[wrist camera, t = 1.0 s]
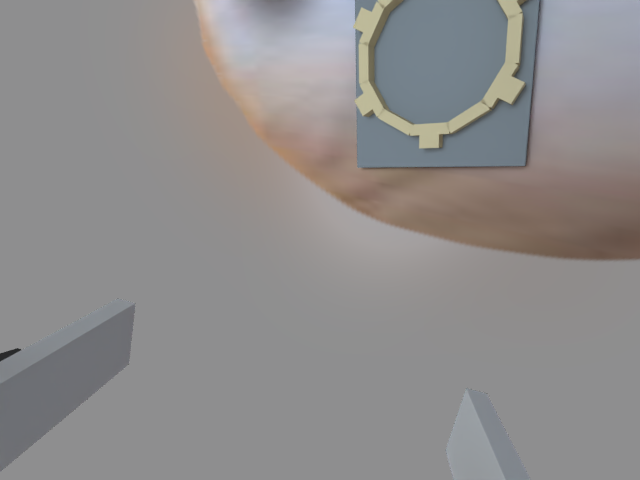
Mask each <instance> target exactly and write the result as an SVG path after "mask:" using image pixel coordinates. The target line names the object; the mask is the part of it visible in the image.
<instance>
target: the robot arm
mask: <svg viewBox="0 0 640 480" xmlns="http://www.w3.org/2000/svg"><path fill="white" fill-rule="evenodd" d="M134 313H135V303H133V302H129V301H125V300H121V299H116V300H114V301H112V302H110V303H108V304H107V305H105V306H103V307H101V308H99V309H98V310H95V311H94V312H92V313H90V314H88V315H86V316H84V317H83V318H80V319H79V320H77V321H75V322H73V323H71V324H70V325H67V326H66V327H64V328H62V329H60V330H58V331H56V332H54V333H53V334H51V335H49V336H47V337H45V338H43V339H42V340H39V341H38V342H36V343H34V344H32V345H30V346H28V347H26V348H25V349H23V350H21V349H18V348H17V349H14V350H10V351H7V352H4V353H1V354H0V472H1V471H2V470H3V469H4V468H6V467H7V466H8V465H9V464H10V463H12V461H14V460H15V459H16V458H18V457H19V456H20V455H21V454H22V453H23V452H25V451H26V450H27V449H28V448H29V447H31V446H32V445H33V444H34V443H35V442H37V441H38V440H39V439H40V438H41V437H43V436H44V435H45V434H46V433H47V432H49V431H50V430H51V429H52V428H53V427H55V426H56V425H57V424H58V423H59V422H61V421H62V420H63V419H64V418H65V417H66V416H68V415H69V414H70V413H71V412H73V411H74V410H75V409H76V408H77V407H78V406H80V405H81V404H82V403H83V402H84V401H86V400H87V399H88V398H89V397H91V396H92V395H93V394H94V393H95V392H96V391H98V390H99V389H100V388H101V387H102V386H103V385H105V384H106V383H107V382H108V381H109V380H111V379H112V378H113V377H114V376H115V375H117V374H118V373H119V372H120V371H122V370H123V369H124V368H125V367H126V366H127V365H129V359H130V349H131V341H132V331H133V322H134ZM446 454H447V457H448V461H449V465H450V469H451V472H452V476H453V480H531V479H530V477H529V475H528V473H527V471H526V469H525V467H524V465H523V463H522V461H521V459H520V457H519V455H518V453H517V451H516V449H515V447H514V445H513V444H512V441H511V440H510V438H509V436H508V434H507V432H506V430H505V428H504V426H503V424H502V422H501V420H500V418H499V416H498V414H497V412H496V410H495V408H494V406H493V404H492V403H491V400H490V398H489V396H488V395H487V393H483V392H479V391H476V390H472V389H468V388H466V390H465V393H464V396H463V399H462V402H461V405H460V408H459V411H458V414H457V418H456V420H455V423H454V426H453V429H452V432H451V435H450V438H449V441H448V444H447V448H446Z"/></svg>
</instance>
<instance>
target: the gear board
mask: <svg viewBox="0 0 640 480" xmlns="http://www.w3.org/2000/svg"><path fill="white" fill-rule="evenodd" d="M539 6H540V0H355V24H354V26H353V28H355V29H356V96H357V99H356V100H354V101H355V103H356V105H357V164H358V168H359V167H462V166H525V165H526V157H527V145H528V134H529V122H530V110H531V99H532V87H533V76H534V64H535V52H536V41H537V29H538V18H539Z"/></svg>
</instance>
